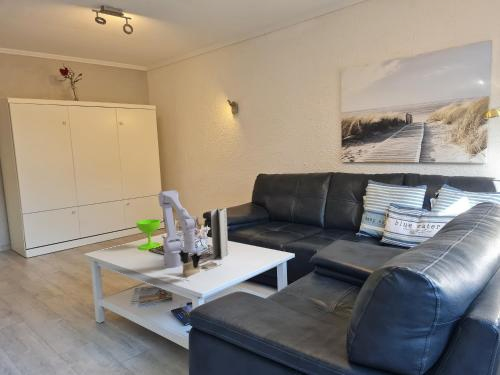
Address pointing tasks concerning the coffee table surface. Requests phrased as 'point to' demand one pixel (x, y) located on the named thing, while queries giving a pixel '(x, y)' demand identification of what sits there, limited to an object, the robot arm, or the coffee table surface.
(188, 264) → the tan wooden block
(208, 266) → the offcut upper
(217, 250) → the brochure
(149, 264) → the coffee table surface
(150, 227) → the wineglass
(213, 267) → the rack
